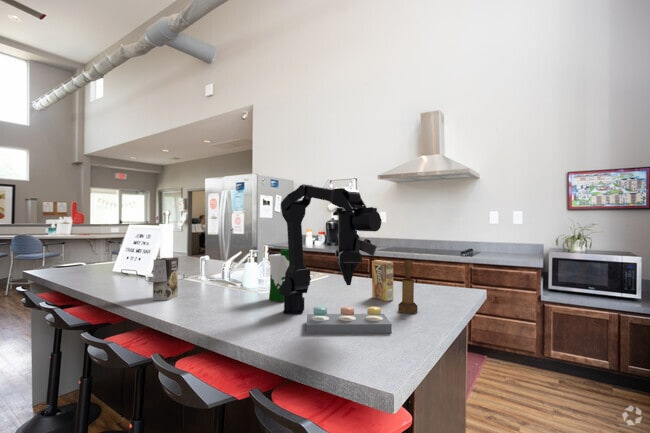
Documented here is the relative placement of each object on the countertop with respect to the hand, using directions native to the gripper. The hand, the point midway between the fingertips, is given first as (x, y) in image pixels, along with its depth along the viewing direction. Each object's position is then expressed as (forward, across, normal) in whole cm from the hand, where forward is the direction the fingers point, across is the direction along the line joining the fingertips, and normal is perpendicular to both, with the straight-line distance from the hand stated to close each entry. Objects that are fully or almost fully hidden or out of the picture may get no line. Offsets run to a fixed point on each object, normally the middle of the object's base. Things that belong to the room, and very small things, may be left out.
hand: (347, 283), depth 103 cm
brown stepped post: (+13, +18, -23) cm, 32 cm away
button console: (+13, 0, 0) cm, 13 cm away
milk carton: (+13, +37, +23) cm, 46 cm away
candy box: (+13, +38, -18) cm, 44 cm away
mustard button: (+9, 0, -8) cm, 12 cm away
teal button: (+9, 0, +8) cm, 12 cm away
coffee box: (+13, +40, +70) cm, 82 cm away
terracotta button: (+9, 0, 0) cm, 9 cm away
